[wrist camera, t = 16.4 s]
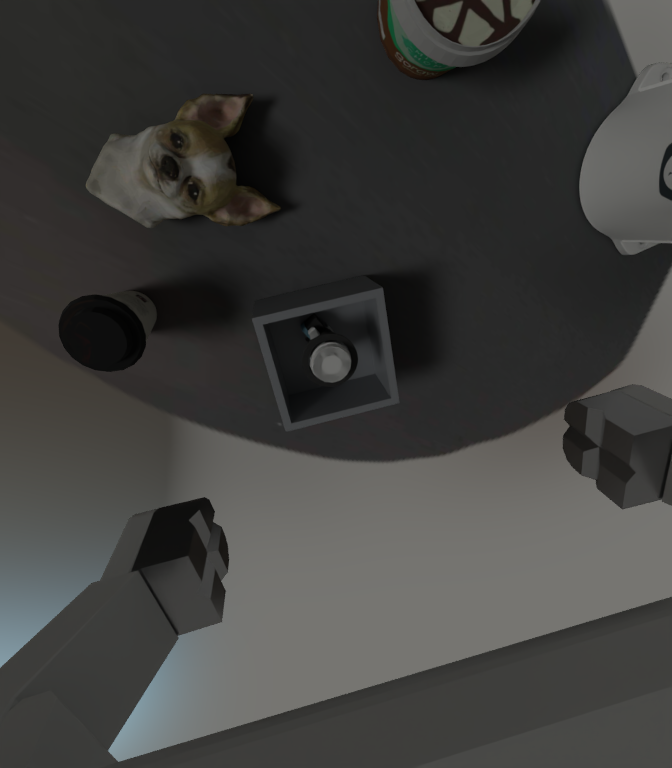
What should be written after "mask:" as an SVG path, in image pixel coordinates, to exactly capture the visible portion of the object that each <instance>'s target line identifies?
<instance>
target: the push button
mask: <svg viewBox="0 0 672 768" xmlns="http://www.w3.org/2000/svg"><path fill="white" fill-rule="evenodd" d="M326 324H327V323H326ZM300 326H301V329H302V331H303V332H304V333H305V334H306V336H307V337H306V338H305V340H306V341H307V342H308V344H307V346H306V347H305V349H304V352H303V355H302V366H303V370H304V372H305V374H306V376H307V377H308V378H309V379H310V380H311V381H312V382H313V383H315V384H317V385H320V386H323V387H334V386H338V385H341V384H343V383H344V382H346V381H347V380H348V379H349V378H350V377H351V376H352V375H353V374H354V372H355V370H356V368H357V364H358V354H357V351H356V348H355V346H354V345H353V343H352V342H351V341H350V340H349V339H348V338H346V337H345V336H343V335H340V334H337V333H334V332H333V330H332V329H331V327H330V326H329V325H328V324H327V326H328V327H327V328H325V326H324V325H323V324H322V322H321V320H320V319H319V318H318V316H317V315H316V314H315V313H313V314H312V315H311V316H310V317H309V318H308V319H307V320H306V321H305V322H304V323H302V324H301V325H300ZM342 343H343V344H345V345H346V346H347V347H348V350H349V351H348V350H347V349H346V347H344V346H343V345H342ZM309 355H310V366H309V364H308V359H309Z"/></svg>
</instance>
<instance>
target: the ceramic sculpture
mask: <svg viewBox="0 0 672 768" xmlns="http://www.w3.org/2000/svg"><path fill="white" fill-rule="evenodd" d="M252 100H253V94H242V95H233V94H229V95H227V94H214V95H212V94H202V95H200V96H199V97H198V98H195V99H191V100H187V101H186V102H185V104H184V105H183V106H182V107H181V108H180V110H179V111H178V113H177V116H176V119H175V120H174V121H172V122H169V123H166V124H162V125H158V126H152V127H148V128H147V129H146V130H145V131H143V132H140V133H139V134H138V135H130V136H128V135H122V134H118V133H114V134H111V135H110V137H109V140H108V141H107V143H106V144H105V145H104V146H103V148H102V150H101V152H100V155H99V157H98V159H97V160H96V162H95V164H94V166H93V168H92V171H91V174H90V177H89V178H88V180H87V182H86V188H87V189H88V191H89V192H90V193H92V194H93V195H95V196H97V197H98V198H100V199H101V200H102V201H104V202H105V203H106V204H108V205H110V206H112V207H114V208H116V209H117V210H119V211H121V212H123V213H124V214H126V215H127V216H129V217H131V218H132V219H134V220H136V221H137V222H139V223H141V224H142V225H144V226H145V227H147V228H153V227H156V226H157V225H158V224H160V223H161V222H162V221H163V220H166V219H176V218H179V219H183V218H187V217H191V216H193V215H204V216H206V217H208V218H209V219H211V220H212V221H213V222H216V223H218V224H221V225H224V226H231V225H239V226H243V225H246V224H248V223H252V222H254V221H257V220H260V219H262V218H265V217H266V216H268V215H269V214H272V213H275V212H277V211H280V210H281V208H280V206H278V205H277V204H275V203H273V202H271V201H269V200H268V199H267V198H266V197H264V196H263V195H262V194H261V193H260V192H259V191H257V190H256V189H255V188H252V187H250V186H237V185H236V168H235V162H234V159H233V156H232V154H231V151H230V149H229V147H228V145H227V143H226V141H225V140H224V138H226V137H231V136H233V135H235V134H236V133H237V132H238V131H239V129H240V127H241V124H242V121H243V118H244V116H245V113H246V110H247V109H248V107H249V106H250V104H251V102H252Z"/></svg>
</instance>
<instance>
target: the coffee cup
mask: <svg viewBox="0 0 672 768" xmlns="http://www.w3.org/2000/svg"><path fill="white" fill-rule="evenodd" d="M156 319H157V311H156V308H155V305H154V304H153V302H152V301H151V300H150V299H149V298H148V297H147V296H146V295H144V294H142V293H140V292H136V291H124V292H118V293H113V294H107V295H88V296H82V297H80V298H78V299H76V300H74V301H72V302H70V303H69V304H68V306H67V307H66V308H65V309H64V310H63V311H62V314H61V317H60V320H59V337H60V339H61V341H62V344H63V346H64V348H65V349H66V351H67V352H68V353H69V354H70V355H71V357H72V358H74V359H75V360H76V361H78V362H79V363H81V364H82V365H84V366H86V367H89V368H91V369H94V370H99V371H107V372H112V371H119V370H124V369H126V368H128V367H130V366H132V365H134V364H135V363H136V362H137V361H138V360H139V359H140V358H141V356H142V354H143V352H144V349H145V347H146V341H147V339H148V337H149V334H150V332H151V330H152V328H153V326H154V324H155V322H156Z"/></svg>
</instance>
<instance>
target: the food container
mask: <svg viewBox="0 0 672 768" xmlns="http://www.w3.org/2000/svg"><path fill="white" fill-rule="evenodd" d="M540 1H541V0H378V10H377V21H378V27H379V33H380V39H381V42H382V44H383V46H384V49H385V51H386V53H387V56H388V58H389V59H390V60H391V61H392V63H393V64H394V65H395V66H396V67H397V68H398V70H399V71H401V72H402V73H404V74H406V75H407V76H409V77H411V78H415V79H420V80H427V79H433V78H436V77H439V76H441V75H443V74H444V73H446V72H448V71H450V70H452V69H453V68H455V67H466V66H473V65H476V64H479V63H482V62H485V61H487V60H489V59H491V58H492V57H494V56H496V55H497V54H498V53H500V52H501V51H502V50H504V49H505V48H506V47H507V46H508V45H509V44H510V43H511V42H512V41H513V40H514V39H515V38H516V36H517V35H518V34H519V33H520V31H521V30H522V29H523V27H524V26H525V25H526V23H527V22H528V21H529V19H530V18H531V17H532V15H533V14H534V12H535V10H536V8H537V7H538V5H539V3H540Z"/></svg>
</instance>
